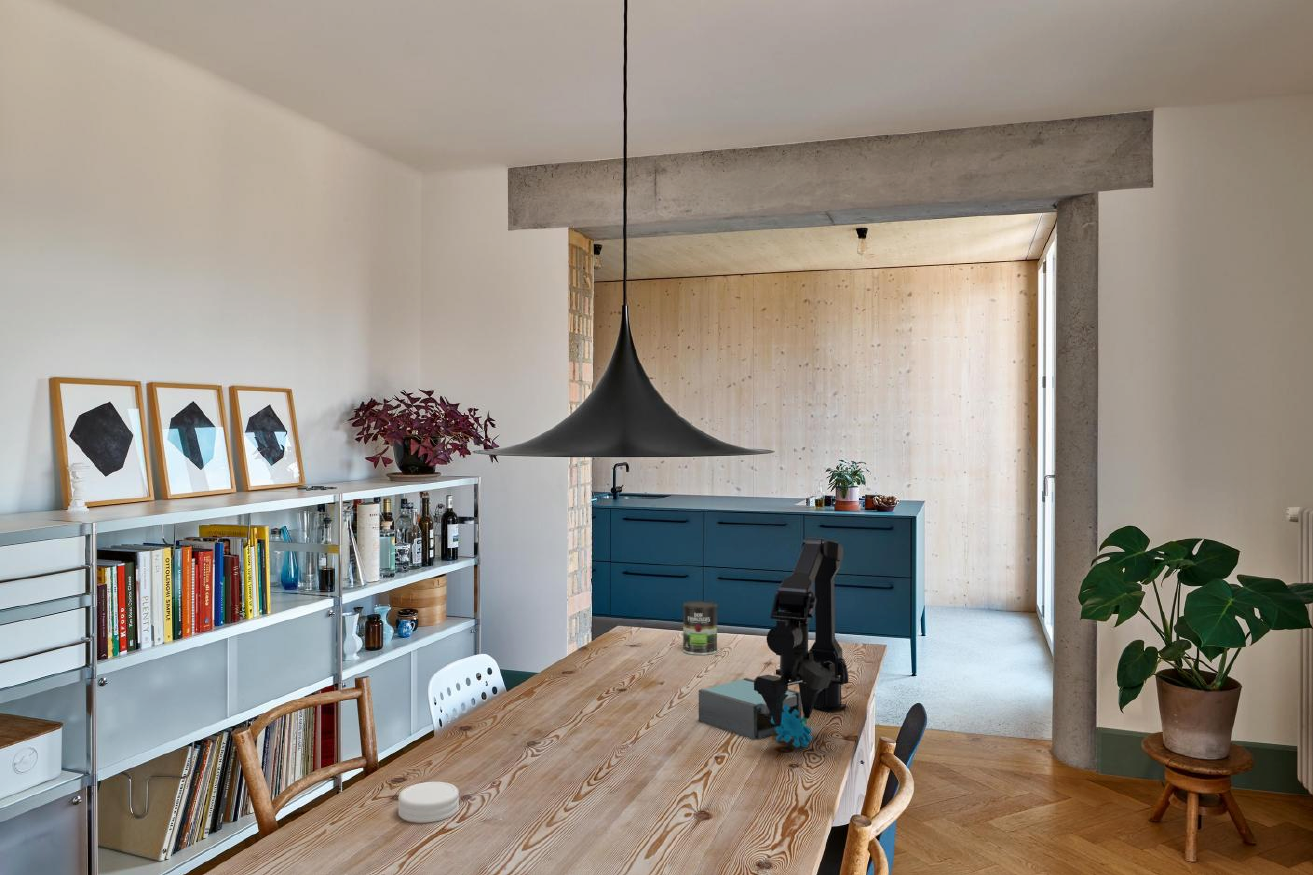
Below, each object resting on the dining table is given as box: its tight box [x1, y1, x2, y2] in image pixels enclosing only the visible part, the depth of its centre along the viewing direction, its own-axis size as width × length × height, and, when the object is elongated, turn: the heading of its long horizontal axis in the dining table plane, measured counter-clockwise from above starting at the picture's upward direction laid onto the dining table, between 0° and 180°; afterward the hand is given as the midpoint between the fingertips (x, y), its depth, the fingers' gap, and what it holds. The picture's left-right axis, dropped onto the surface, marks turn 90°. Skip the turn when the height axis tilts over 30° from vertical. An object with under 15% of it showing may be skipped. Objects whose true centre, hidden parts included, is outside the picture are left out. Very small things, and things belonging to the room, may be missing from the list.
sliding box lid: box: [703, 678, 797, 715], centre depth 203 cm, size 13×18×2 cm
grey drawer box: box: [698, 677, 802, 741], centre depth 203 cm, size 16×17×7 cm
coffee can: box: [682, 600, 719, 656], centre depth 271 cm, size 10×10×14 cm
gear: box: [770, 704, 813, 748], centre depth 190 cm, size 11×6×10 cm
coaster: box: [397, 781, 460, 824], centre depth 155 cm, size 10×10×4 cm
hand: (792, 721), depth 188 cm, fingers open, 9 cm apart
